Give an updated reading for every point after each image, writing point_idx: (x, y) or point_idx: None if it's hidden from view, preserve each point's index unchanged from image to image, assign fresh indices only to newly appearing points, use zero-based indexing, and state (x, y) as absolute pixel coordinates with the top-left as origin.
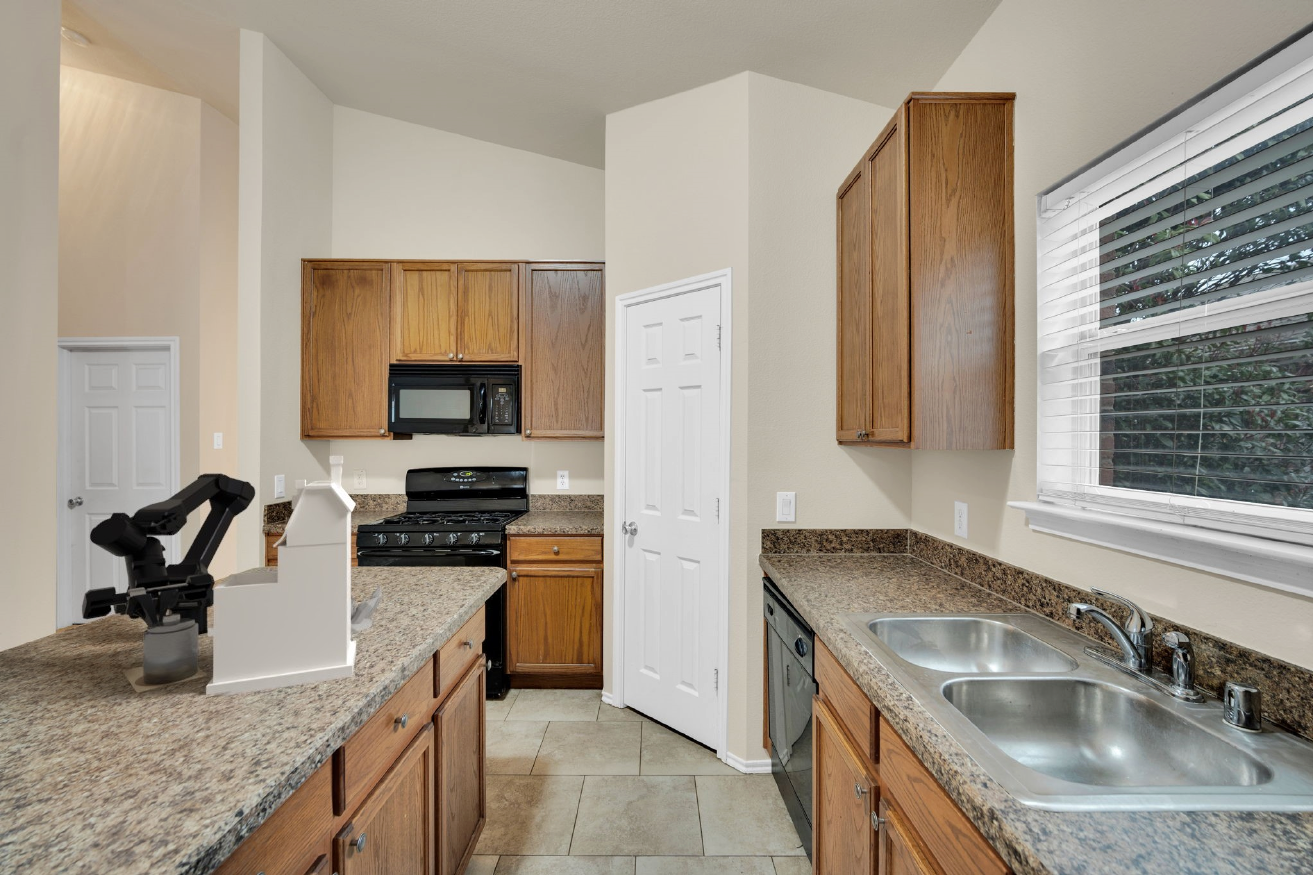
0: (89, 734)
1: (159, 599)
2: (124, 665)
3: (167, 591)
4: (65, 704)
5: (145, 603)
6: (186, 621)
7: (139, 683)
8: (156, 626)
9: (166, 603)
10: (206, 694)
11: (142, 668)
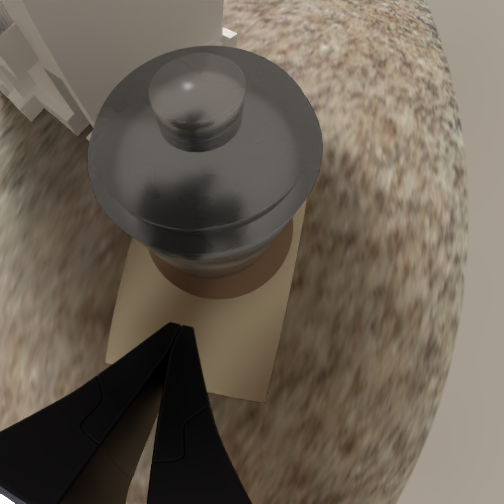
0: (397, 85)
1: (88, 493)
2: None
3: (1, 483)
4: (408, 271)
5: (213, 485)
6: (137, 103)
7: (284, 232)
8: (269, 136)
9: (66, 410)
10: (236, 45)
11: (223, 373)
